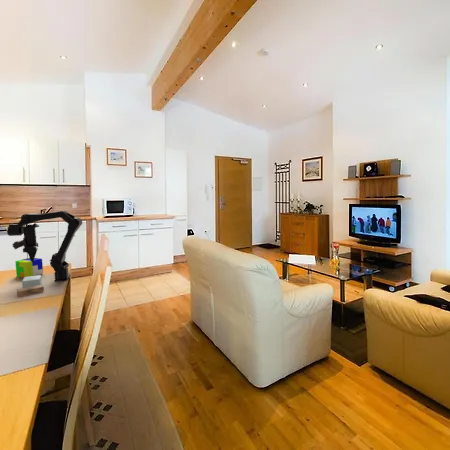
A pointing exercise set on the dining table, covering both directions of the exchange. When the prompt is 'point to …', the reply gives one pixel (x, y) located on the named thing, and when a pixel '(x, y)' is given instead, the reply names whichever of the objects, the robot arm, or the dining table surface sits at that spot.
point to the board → (30, 290)
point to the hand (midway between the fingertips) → (32, 261)
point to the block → (31, 281)
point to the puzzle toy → (29, 267)
